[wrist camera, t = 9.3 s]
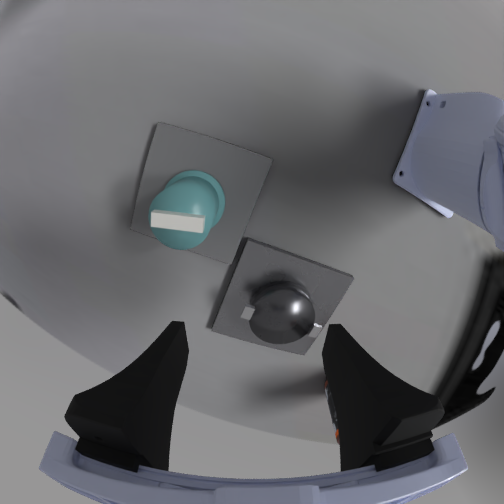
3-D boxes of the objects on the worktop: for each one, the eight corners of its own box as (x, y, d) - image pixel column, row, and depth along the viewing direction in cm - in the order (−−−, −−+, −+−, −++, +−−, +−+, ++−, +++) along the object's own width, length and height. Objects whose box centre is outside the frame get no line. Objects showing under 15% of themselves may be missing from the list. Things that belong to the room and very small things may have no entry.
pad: (160, 122, 18) (158, 122, 17) (272, 159, 19) (273, 159, 19) (133, 226, 21) (130, 229, 21) (231, 261, 23) (231, 264, 22)
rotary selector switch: (247, 237, 22) (247, 252, 19) (352, 275, 23) (362, 292, 21) (212, 327, 26) (208, 347, 23) (303, 351, 27) (307, 371, 25)
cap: (229, 173, 19) (221, 186, 14) (221, 234, 21) (213, 264, 16) (165, 167, 19) (139, 179, 14) (162, 227, 21) (139, 254, 16)
